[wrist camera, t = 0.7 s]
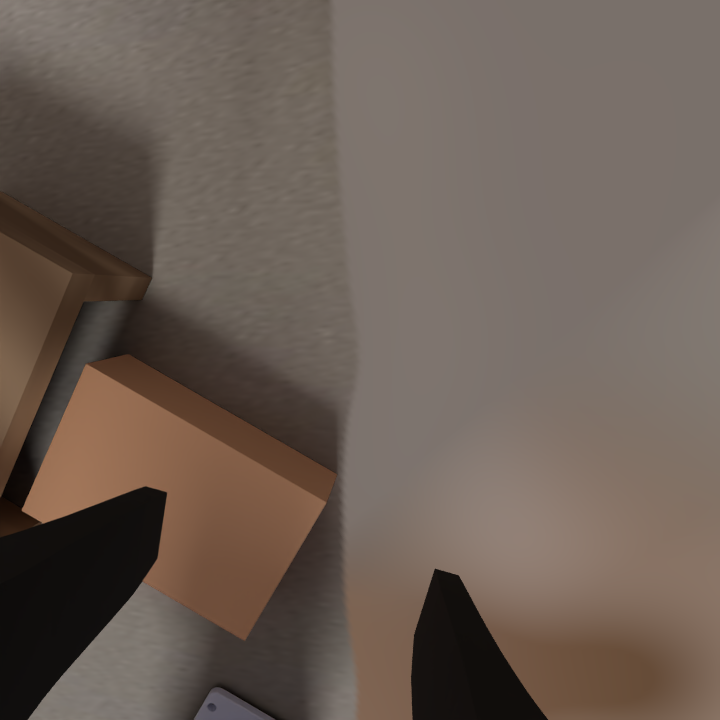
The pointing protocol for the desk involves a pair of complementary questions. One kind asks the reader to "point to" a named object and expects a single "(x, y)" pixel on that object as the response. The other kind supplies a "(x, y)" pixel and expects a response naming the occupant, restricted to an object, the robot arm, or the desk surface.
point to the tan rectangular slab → (185, 486)
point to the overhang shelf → (43, 319)
